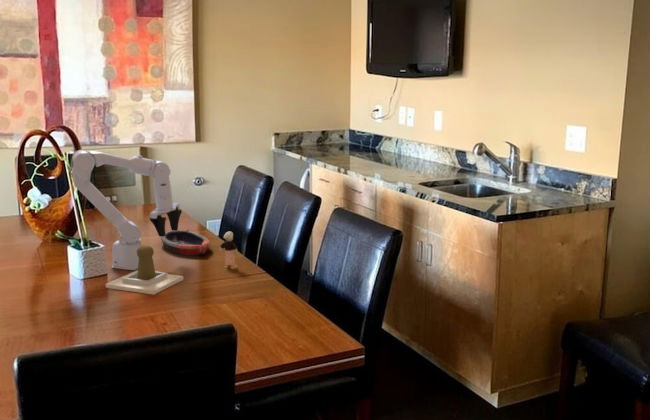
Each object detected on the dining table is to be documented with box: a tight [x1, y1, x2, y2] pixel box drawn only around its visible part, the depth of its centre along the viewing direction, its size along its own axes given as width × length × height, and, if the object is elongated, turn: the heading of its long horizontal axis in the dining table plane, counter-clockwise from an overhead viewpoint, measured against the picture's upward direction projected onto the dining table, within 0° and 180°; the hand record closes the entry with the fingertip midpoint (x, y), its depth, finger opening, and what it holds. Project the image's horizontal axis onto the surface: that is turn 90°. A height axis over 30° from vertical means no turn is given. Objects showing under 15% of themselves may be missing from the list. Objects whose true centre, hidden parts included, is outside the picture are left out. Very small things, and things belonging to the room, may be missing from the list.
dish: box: [160, 229, 211, 256], centre depth 258 cm, size 16×31×5 cm, turn 32°
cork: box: [137, 245, 156, 280], centre depth 215 cm, size 6×6×11 cm
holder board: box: [105, 269, 184, 295], centre depth 216 cm, size 18×16×3 cm
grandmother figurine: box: [219, 231, 239, 270], centre depth 233 cm, size 8×4×13 cm, turn 71°
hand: (168, 233), depth 238 cm, fingers open, 7 cm apart
